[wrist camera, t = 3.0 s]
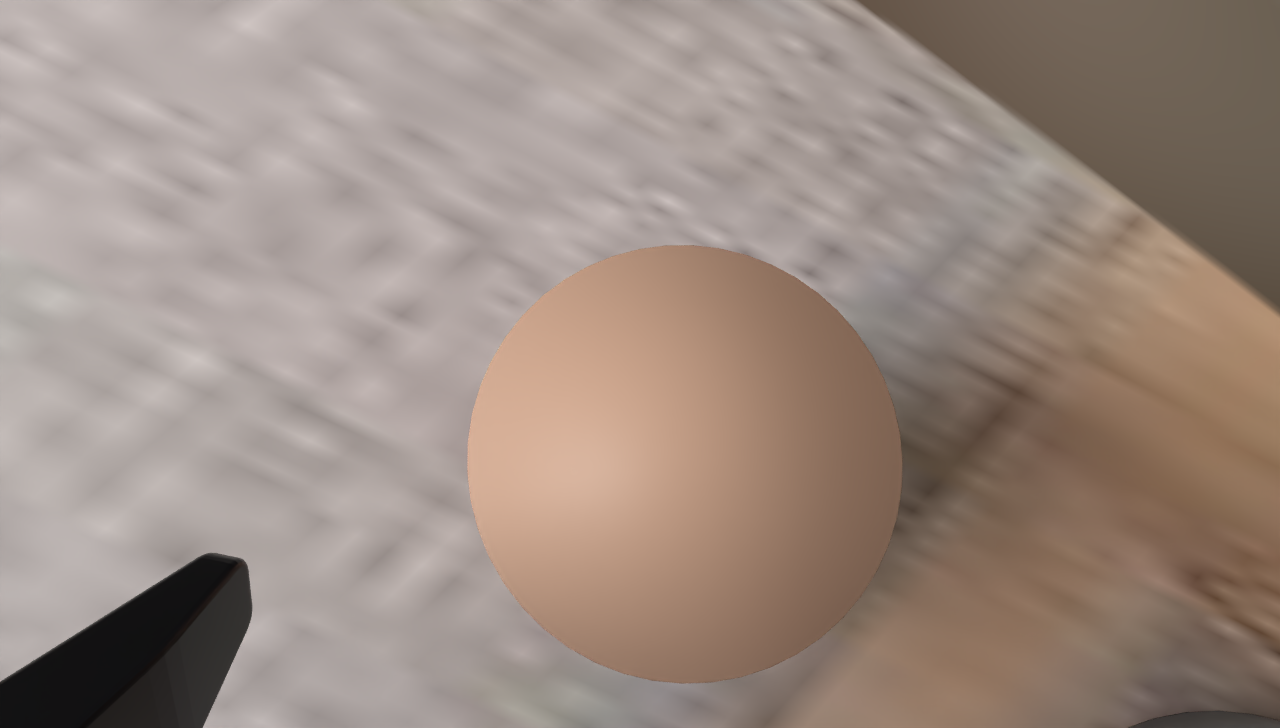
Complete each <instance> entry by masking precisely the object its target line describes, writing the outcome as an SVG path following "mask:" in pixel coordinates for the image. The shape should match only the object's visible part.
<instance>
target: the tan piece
mask: <svg viewBox="0 0 1280 728" xmlns="http://www.w3.org/2000/svg"><path fill="white" fill-rule="evenodd" d="M902 465H903V461H902V450H901V439H900V431H899V427H898V422H897V418H896V413H895V409H894V405H893V402H892V400H891V397H890V394H889V391H888V388H887V386H886V383H885V380H884V378H883V376H882V374H881V372H880V370H879V368H878V366H877V364H876V362H875V360H874V358H873V356H872V355H871V353H870V352H869V350H868V349H867V347H866V346H865V344H864V343H863V341H862V340H861V338H860V337H859V335H858V334H857V332H856V331H855V330H854V329H853V328H852V326H851V325H850V324H849V323H848V322H847V321H846V320H845V318H844V317H843V316H842V315H841V314H840V313H839V312H838V311H837V310H836V309H835V308H834V307H833V306H832V305H831V304H830V303H828V302H827V301H826V300H825V299H824V298H823V297H822V296H821V295H820V294H819V293H817V292H816V291H814V290H813V289H811V288H810V287H809V286H807V285H806V284H804V283H803V282H801V281H800V280H799V279H797V278H796V277H794V276H792V275H790V274H788V273H786V272H784V271H783V270H781V269H779V268H777V267H775V266H773V265H771V264H768V263H766V262H763V261H761V260H758V259H755V258H753V257H750V256H748V255H744V254H740V253H736V252H732V251H728V250H724V249H719V248H711V247H702V246H694V245H684V246H660V247H652V248H645V249H638V250H635V251H631V252H627V253H623V254H619V255H616V256H612V257H610V258H607V259H605V260H603V261H600V262H598V263H595V264H593V265H590V266H588V267H586V268H584V269H583V270H581V271H579V272H577V273H575V274H574V275H572V276H570V277H568V278H567V279H565V280H563V281H562V282H561V283H559V284H558V285H557V286H555V287H554V288H553V289H551V290H550V291H549V292H547V293H546V294H545V295H543V296H542V297H541V298H540V299H539V300H538V301H537V302H536V303H535V304H534V305H533V306H532V307H531V308H530V309H529V310H528V311H527V312H526V313H525V314H524V315H523V316H522V317H521V318H520V319H519V321H518V322H517V323H516V325H515V326H514V327H513V328H512V330H511V331H510V332H509V333H508V335H507V336H506V337H505V339H504V340H503V342H502V344H501V346H500V347H499V349H498V351H497V352H496V354H495V356H494V357H493V359H492V361H491V363H490V365H489V367H488V370H487V372H486V374H485V376H484V379H483V381H482V383H481V386H480V389H479V392H478V396H477V399H476V403H475V406H474V410H473V413H472V419H471V425H470V432H469V439H468V471H467V472H468V481H469V489H470V497H471V503H472V507H473V511H474V515H475V519H476V523H477V527H478V530H479V533H480V535H481V538H482V540H483V543H484V545H485V548H486V550H487V553H488V555H489V558H490V559H491V561H492V563H493V565H494V566H495V568H496V570H497V572H498V573H499V575H500V577H501V579H502V581H503V582H504V584H505V585H506V587H507V588H508V589H509V591H510V592H511V593H512V594H513V596H514V597H515V598H516V600H517V601H518V602H519V604H520V605H521V606H522V608H523V609H524V610H525V611H526V612H527V613H528V614H529V615H530V616H531V617H532V618H533V619H534V620H535V621H536V622H537V623H538V624H539V625H540V626H541V627H542V628H543V629H545V630H546V631H547V632H549V633H550V634H551V635H552V636H554V637H555V638H556V639H558V640H559V641H560V642H562V643H563V644H564V645H566V646H567V647H568V648H570V649H572V650H574V651H575V652H577V653H579V654H581V655H583V656H584V657H586V658H588V659H590V660H591V661H593V662H595V663H598V664H600V665H603V666H605V667H608V668H610V669H613V670H615V671H618V672H621V673H623V674H627V675H632V676H636V677H640V678H644V679H648V680H652V681H662V682H672V683H707V682H717V681H722V680H728V679H733V678H739V677H743V676H746V675H749V674H752V673H755V672H758V671H761V670H764V669H767V668H770V667H772V666H774V665H776V664H778V663H780V662H782V661H784V660H786V659H788V658H790V657H792V656H795V655H796V654H798V653H799V652H801V651H802V650H804V649H805V648H807V647H808V646H810V645H811V644H813V643H814V642H816V641H817V640H819V639H820V638H821V637H822V636H823V635H825V634H826V633H827V632H828V631H829V630H830V629H831V628H832V627H833V626H835V625H836V624H837V623H838V622H839V621H840V620H841V619H842V618H843V617H844V616H845V615H846V614H847V612H848V611H849V610H850V609H851V608H852V606H853V605H854V604H855V603H856V602H857V600H858V599H859V598H860V597H861V596H862V594H863V592H864V591H865V589H866V588H867V586H868V584H869V583H870V581H871V580H872V578H873V577H874V575H875V573H876V572H877V570H878V567H879V565H880V563H881V561H882V559H883V557H884V554H885V552H886V550H887V548H888V546H889V542H890V539H891V536H892V533H893V529H894V526H895V523H896V520H897V514H898V509H899V503H900V497H901V491H902Z"/></svg>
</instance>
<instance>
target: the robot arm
mask: <svg viewBox="0 0 1280 728" xmlns="http://www.w3.org/2000/svg"><path fill="white" fill-rule="evenodd" d="M251 616H252V599H251V590H250V580H249V571H248V566H247V564H246V562H245V561H244V560H243V559H241V558H237V557H232V556H227V555H222V554H218V553H207V554H204V555H202V556H200V557H198V558H196V559H195V560H193V561H192V562H190V563H188V564H187V565H185V566H184V567H182V568H181V569H179V570H177V571H176V572H174V573H173V574H171V575H169V576H168V577H166V578H165V579H163V580H161V581H160V582H158V583H157V584H155V585H153V586H152V587H150V588H149V589H147V590H145V591H144V592H142V593H141V594H139V595H138V596H136V597H134V598H133V599H131V600H130V601H128V602H126V603H125V604H123V605H122V606H120V607H118V608H117V609H115V610H114V611H112V612H110V613H109V614H107V615H106V616H104V617H102V618H101V619H99V620H98V621H96V622H95V623H93V624H91V625H90V626H88V627H87V628H85V629H83V630H82V631H80V632H79V633H77V634H75V635H74V636H72V637H71V638H69V639H67V640H66V641H64V642H63V643H61V644H59V645H58V646H56V647H55V648H53V649H51V650H50V651H48V652H47V653H45V654H44V655H42V656H40V657H39V658H37V659H36V660H34V661H32V662H31V663H29V664H28V665H26V666H24V667H23V668H21V669H20V670H18V671H16V672H15V673H13V674H12V675H10V676H8V677H7V678H5V679H4V680H2V681H1V682H0V728H203V726H204V723H205V721H206V719H207V717H208V715H209V713H210V710H211V708H212V706H213V704H214V702H215V699H216V697H217V695H218V693H219V691H220V688H221V686H222V684H223V682H224V680H225V677H226V675H227V673H228V671H229V669H230V667H231V664H232V662H233V660H234V658H235V656H236V653H237V651H238V649H239V647H240V645H241V642H242V640H243V638H244V636H245V634H246V631H247V629H248V627H249V623H250V620H251Z"/></svg>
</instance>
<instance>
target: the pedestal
mask: <svg viewBox="0 0 1280 728" xmlns="http://www.w3.org/2000/svg"><path fill="white" fill-rule="evenodd" d="M1129 728H1280V721H1278V720H1274V719H1270V718H1265V717H1261V716H1257V715H1253V714H1244V713H1234V712H1224V711H1207V712H1186V713H1181V714H1176V715H1170V716H1165V717H1160V718H1155V719H1152V720H1149V721H1146V722H1143V723H1141V724H1138V725H1135V726H1132V727H1129Z"/></svg>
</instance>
